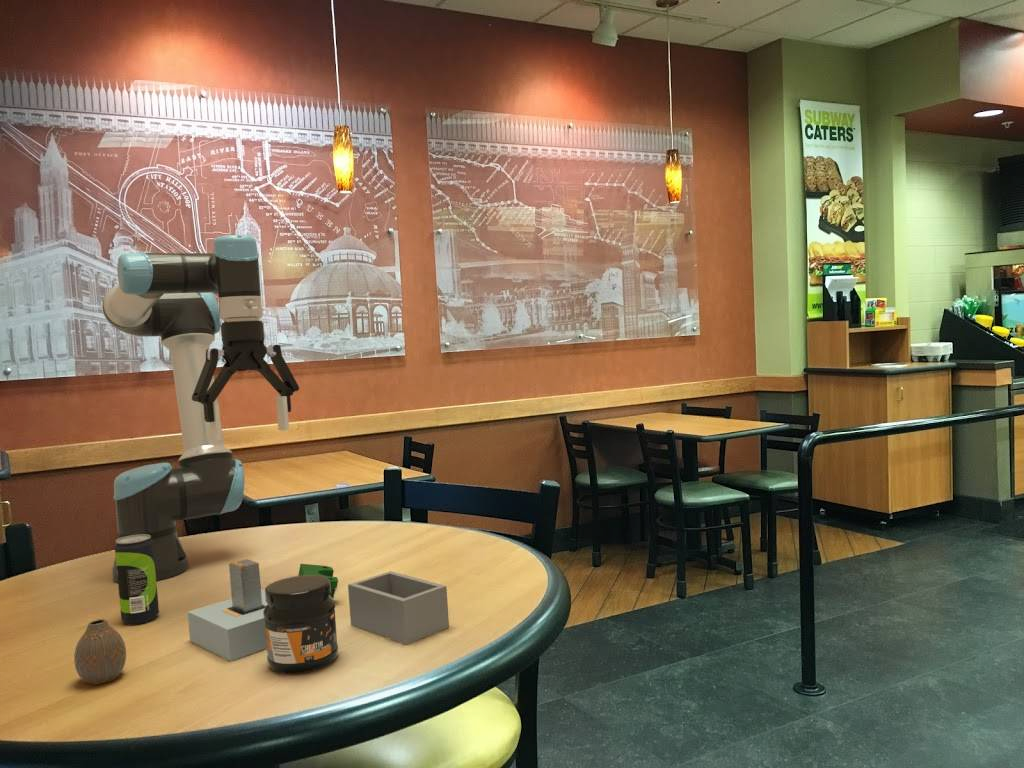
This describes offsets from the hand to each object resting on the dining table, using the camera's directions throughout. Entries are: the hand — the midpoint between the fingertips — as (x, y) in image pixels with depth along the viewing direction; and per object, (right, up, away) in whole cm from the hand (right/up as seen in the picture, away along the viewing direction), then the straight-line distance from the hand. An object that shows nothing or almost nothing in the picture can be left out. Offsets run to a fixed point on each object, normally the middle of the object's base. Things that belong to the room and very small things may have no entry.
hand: (251, 435), depth 151 cm
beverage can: (-19, -33, -4) cm, 38 cm away
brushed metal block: (+5, -32, -16) cm, 36 cm away
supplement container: (+17, -33, -28) cm, 46 cm away
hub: (+5, -33, -16) cm, 37 cm away
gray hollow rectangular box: (+30, -31, -15) cm, 46 cm away
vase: (-13, -35, -30) cm, 47 cm away
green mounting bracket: (+12, -31, +2) cm, 34 cm away
